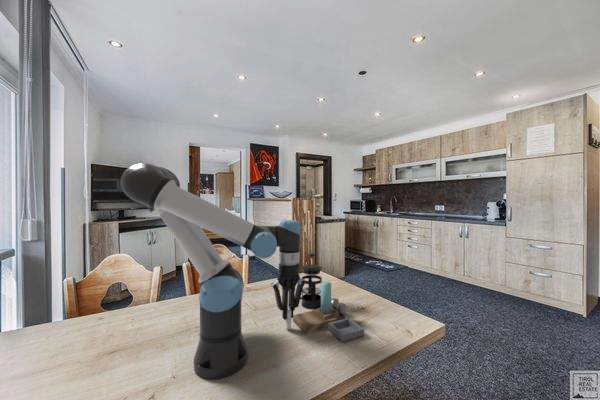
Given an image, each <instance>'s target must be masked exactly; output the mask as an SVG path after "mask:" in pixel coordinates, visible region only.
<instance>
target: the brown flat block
mask: <svg viewBox="0 0 600 400" xmlns="http://www.w3.org/2000/svg"><path fill="white" fill-rule="evenodd" d="M338 320H342V317H341V316H339V312H338V311H336V310H335V309H333V308H332V307H331V314H327V315H325V314H324V313H322V312H321V307H320V308H318V309H313V310H310V311H305V312H302V313H297V314H293V318H292V321H293V323H294V324H295V325H296V326H297V327H298V329H300V331H302V333H303V334H304V335H307V334H310V333H313V332H318V331H322V330H325V329H328V323H331V322H335V321H338Z"/></svg>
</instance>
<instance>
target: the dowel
mask: <svg viewBox="0 0 600 400" xmlns="http://www.w3.org/2000/svg"><path fill="white" fill-rule="evenodd" d="M320 289H321V293H320V296H321V307H320V308H321V312H322V313H324V314H325V315H327V314H331V299H332V282H329V281H322V283H320Z"/></svg>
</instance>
